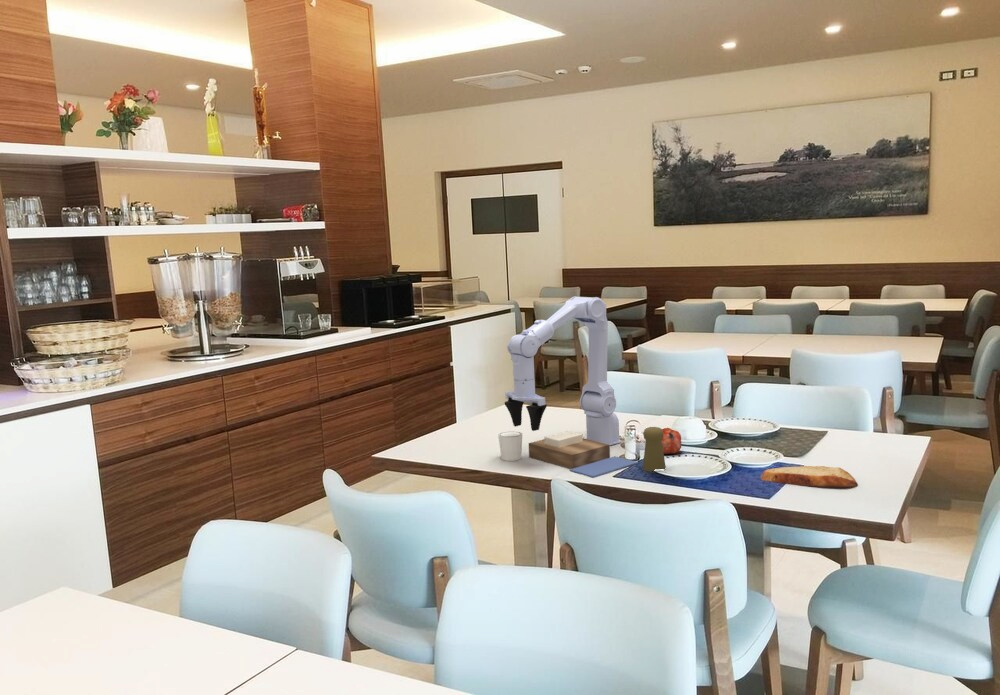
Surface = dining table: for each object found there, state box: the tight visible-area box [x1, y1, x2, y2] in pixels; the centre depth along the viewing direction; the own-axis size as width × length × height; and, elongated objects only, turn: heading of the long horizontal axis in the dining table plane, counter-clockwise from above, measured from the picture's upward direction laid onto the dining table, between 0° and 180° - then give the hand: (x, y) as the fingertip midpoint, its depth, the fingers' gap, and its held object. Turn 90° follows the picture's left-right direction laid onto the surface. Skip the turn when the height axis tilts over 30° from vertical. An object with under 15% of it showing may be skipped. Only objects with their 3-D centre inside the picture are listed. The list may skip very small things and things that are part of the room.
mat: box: [569, 456, 639, 479], centre depth 216 cm, size 17×9×1 cm, turn 128°
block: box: [544, 430, 584, 448], centre depth 227 cm, size 9×6×2 cm, turn 128°
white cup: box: [498, 430, 523, 462], centre depth 229 cm, size 7×7×7 cm
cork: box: [642, 426, 667, 473], centre depth 212 cm, size 6×6×11 cm
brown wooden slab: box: [528, 437, 611, 470], centre depth 226 cm, size 14×18×4 cm
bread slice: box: [760, 465, 859, 489], centre depth 196 cm, size 18×18×4 cm
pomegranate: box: [661, 427, 682, 455], centre depth 226 cm, size 7×7×10 cm
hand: (526, 427), depth 221 cm, fingers open, 7 cm apart
